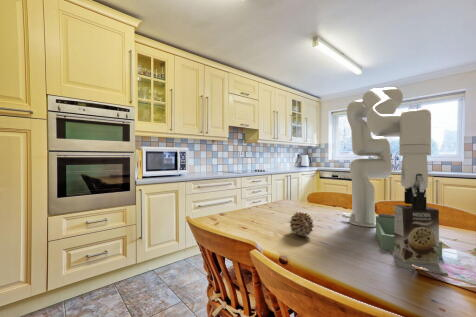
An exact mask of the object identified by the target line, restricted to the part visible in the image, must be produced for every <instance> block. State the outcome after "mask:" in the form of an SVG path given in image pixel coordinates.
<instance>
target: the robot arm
mask: <svg viewBox="0 0 476 317" xmlns="http://www.w3.org/2000/svg"><path fill="white" fill-rule="evenodd" d="M361 98H362V99H356V100H354V101H351V102H350V103H348V104H347V107H346V117H347V121H348V124H349V127H350V131H351V146H352V147H351V149H352V152H353V154H354V155H355V156H356V157H376V158H357V159H354V160H352V161H351V162H350V163H349V164H350V165H349V170H350V171H349V173H350V177H351V187H352V188H351V190H352V192H351V197H352V198H351V199H352V200H351V201H352V203H351V206H352V207H351V208H352V212H351V213H350V212H349V213H346V212H345V213H344V212H343V213H342V218H345V219H348V222H349V224H352V225H354V226H358V227H362V228H363V227H364V228H376V211H375V210H376V208H375V207H376V205H375V200H376V198H375V196H376V195H375V192H376V190H375V185H374V184H373V183H372V182H371V180H370V179H388V178H389V177H390V176H391V174H392V171H393V169H392V167H393V166H392V154H391V144H390V142H389V140H388V138H389V137H390V138H391V137H393V138H394V137H396V138H397V137H399V153H398V154H399V156H400V157H401V156H402V159H401V172H400V174H401V175H400V185H401V186H402V187H404V194H403V195H404V196H403V197H404V198H403V199H404V201H403V202H404V204H406V205H411V206H412V210H415V211H426V207H427V189H428V187H429V186H428V185H429V184H428V183H429V168H428V167H429V166H428V156H432V113H431V111H430V110H429V109H425V108H418V109H416V108H414V109H410V110H406V111H402V112H401V113H397V114H396V111H397V109H398V108H399V107H400V105H401V104H402V103H403V99H404V96H403V92H402V91H401V90H400V89H399V88H397V87H384V88H383V87H382V88H372V89H369V90H367V91H365V92H364V93H363V95H362V97H361ZM364 118H366V119H364ZM372 134H373V135H374V136H372ZM387 137H388V138H387Z"/></svg>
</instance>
